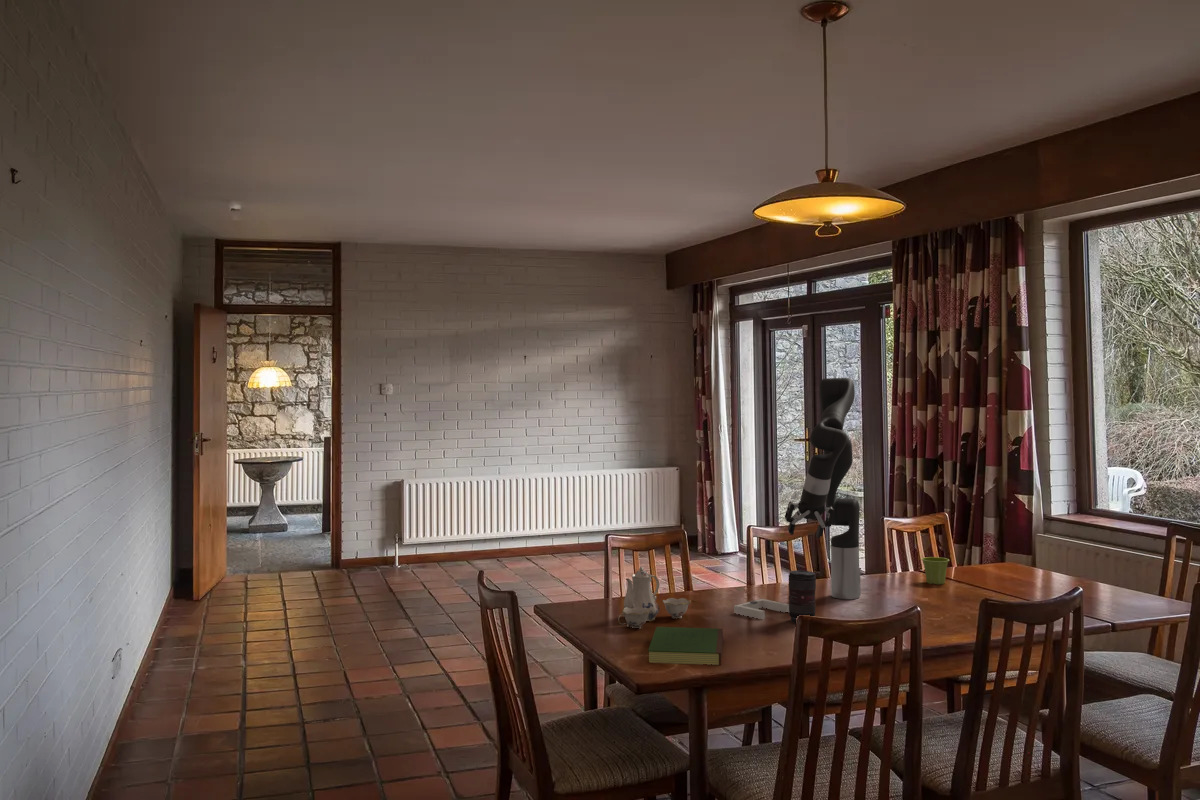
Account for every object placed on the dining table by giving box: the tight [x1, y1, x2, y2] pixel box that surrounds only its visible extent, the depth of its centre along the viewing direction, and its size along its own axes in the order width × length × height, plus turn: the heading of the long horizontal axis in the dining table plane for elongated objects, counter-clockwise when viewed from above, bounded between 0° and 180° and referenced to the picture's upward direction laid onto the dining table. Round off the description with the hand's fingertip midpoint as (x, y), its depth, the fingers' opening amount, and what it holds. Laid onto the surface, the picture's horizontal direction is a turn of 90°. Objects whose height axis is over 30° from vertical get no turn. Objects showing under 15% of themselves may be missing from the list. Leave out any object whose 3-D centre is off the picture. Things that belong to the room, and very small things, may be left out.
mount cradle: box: [733, 598, 789, 620], centre depth 293 cm, size 14×11×3 cm
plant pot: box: [921, 556, 950, 585], centre depth 335 cm, size 9×9×9 cm
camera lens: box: [788, 569, 817, 624], centre depth 282 cm, size 8×8×15 cm
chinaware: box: [617, 566, 692, 629], centre depth 285 cm, size 28×17×17 cm, turn 137°
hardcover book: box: [647, 626, 724, 666], centre depth 252 cm, size 25×19×4 cm
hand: (804, 535), depth 289 cm, fingers open, 8 cm apart
